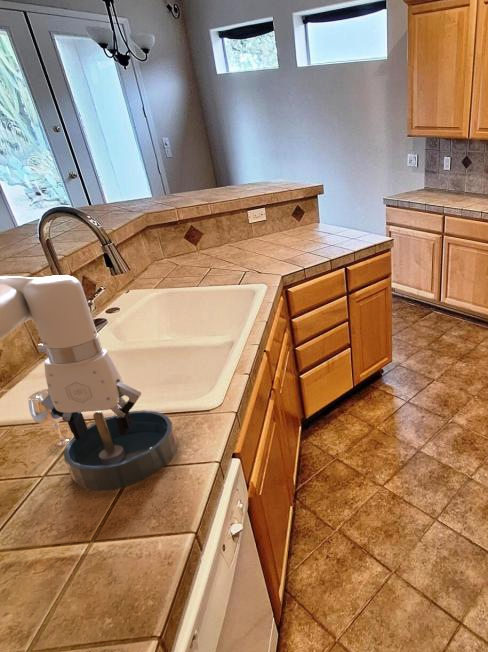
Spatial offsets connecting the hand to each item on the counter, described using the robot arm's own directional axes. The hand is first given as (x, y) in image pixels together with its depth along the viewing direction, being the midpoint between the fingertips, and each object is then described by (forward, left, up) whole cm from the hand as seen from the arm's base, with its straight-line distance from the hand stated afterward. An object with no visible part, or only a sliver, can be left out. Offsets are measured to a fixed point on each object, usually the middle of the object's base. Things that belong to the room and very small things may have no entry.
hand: (104, 432), depth 81 cm
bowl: (+2, 0, -7) cm, 7 cm away
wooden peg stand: (0, 0, -6) cm, 6 cm away
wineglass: (-12, +7, -7) cm, 16 cm away
